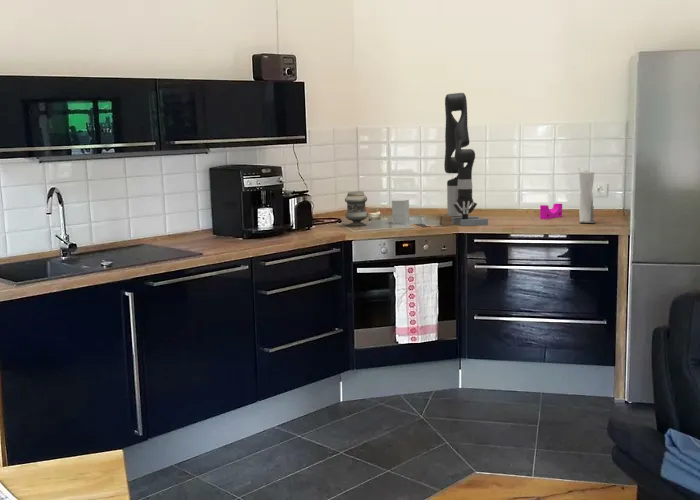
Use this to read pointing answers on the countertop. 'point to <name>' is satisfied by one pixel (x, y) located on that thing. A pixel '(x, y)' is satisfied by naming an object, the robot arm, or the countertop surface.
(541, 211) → the toy block
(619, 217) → the countertop surface
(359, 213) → the apothecary jar
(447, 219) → the walnut cube
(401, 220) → the supplement box
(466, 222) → the grey flat slab
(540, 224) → the countertop surface
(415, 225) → the trap pit
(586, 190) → the skyscraper
